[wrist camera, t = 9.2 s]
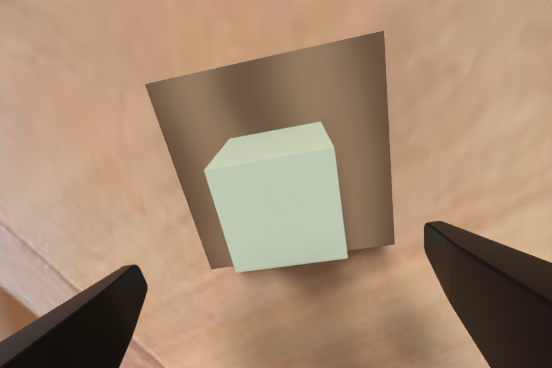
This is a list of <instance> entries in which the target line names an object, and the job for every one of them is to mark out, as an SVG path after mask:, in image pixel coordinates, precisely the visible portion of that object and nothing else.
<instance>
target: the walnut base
mask: <svg viewBox="0 0 552 368" xmlns="http://www.w3.org/2000/svg"><path fill="white" fill-rule="evenodd" d="M145 85H146V88H147V91H148V94H149V97H150V99H151V102H152V105H153V108H154V111H155V113H156V116H157V119H158V122H159V125H160V127H161V130H162V133H163V136H164V139H165V141H166V144H167V147H168V150H169V152H170V155H171V158H172V161H173V164H174V166H175V169H176V172H177V175H178V178H179V180H180V183H181V186H182V189H183V192H184V194H185V197H186V200H187V203H188V206H189V208H190V211H191V214H192V217H193V220H194V222H195V225H196V228H197V231H198V233H199V236H200V239H201V242H202V245H203V247H204V250H205V253H206V256H207V259H208V261H209V264H210V267H211V269H216V268H223V267H231V266H234V265H233V262H232V258H231V255H230V252H229V249H228V246H227V242H226V239H225V236H224V233H223V230H222V227H221V223H220V220H219V217H218V214H217V211H216V207H215V204H214V201H213V198H212V195H211V191H210V188H209V185H208V182H207V179H206V176H205V172H204V169H205V168H206V167H207V166H208V164H209V163H210V162H211V161H212V160H213V158H214V157H215V156H216V155H217V153H218V152H219V151H220V150H221V149H222V147H223V146H224V145H225V144H226V142H227V141H228V140H229V139H230V138H236V137H241V136H246V135H252V134H257V133H262V132H268V131H273V130H278V129H284V128H289V127H294V126H300V125H305V124H310V123H316V122H321V123H322V125H323V127H324V129H325V131H326V133H327V134H328V136H329V138H330V140H331V142H332V144H333V146H334V149H335V157H336V165H337V174H338V182H339V190H340V198H341V206H342V214H343V222H344V231H345V239H346V247H347V251H349V250H356V249H363V248H371V247H378V246H386V245H393V244H395V243H394V223H393V204H392V184H391V164H390V144H389V124H388V104H387V84H386V64H385V44H384V31H381V32H376V33H372V34H367V35H363V36H358V37H354V38H349V39H345V40H341V41H336V42H332V43H327V44H323V45H318V46H314V47H309V48H305V49H300V50H296V51H291V52H287V53H283V54H278V55H274V56H269V57H265V58H260V59H256V60H251V61H247V62H242V63H238V64H233V65H229V66H225V67H220V68H216V69H211V70H207V71H202V72H198V73H193V74H189V75H184V76H180V77H175V78H171V79H167V80H162V81H158V82H153V83H149V84H145Z"/></svg>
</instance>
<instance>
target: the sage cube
mask: <svg viewBox="0 0 552 368" xmlns="http://www.w3.org/2000/svg"><path fill="white" fill-rule="evenodd" d="M204 172H205V176H206V179H207V182H208V185H209V188H210V191H211V195H212V198H213V201H214V204H215V207H216V211H217V214H218V217H219V220H220V223H221V227H222V230H223V233H224V236H225V239H226V242H227V246H228V249H229V252H230V255H231V258H232V262H233V265H234V268H235V271H236V273H238V272H245V271H253V270H261V269H269V268H276V267H284V266H292V265H300V264H307V263H315V262H323V261H331V260H338V259H346V258H348V255H347V247H346V239H345V231H344V222H343V214H342V206H341V198H340V190H339V182H338V174H337V165H336V157H335V149H334V146H333V144H332V142H331V140H330V138H329V136H328V134H327V133H326V131H325V129H324V127H323V125H322V123H321V122H316V123H310V124H305V125H300V126H294V127H289V128H284V129H278V130H273V131H268V132H262V133H257V134H252V135H246V136H241V137H236V138H230V139H229V140H228V141H227V142H226V144H225V145H224V146H223V147H222V149H221V150H220V151H219V152H218V153H217V155H216V156H215V157H214V158H213V160H212V161H211V162H210V163H209V164H208V166H207V167H206V168H205V169H204Z"/></svg>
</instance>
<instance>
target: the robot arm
mask: <svg viewBox="0 0 552 368" xmlns="http://www.w3.org/2000/svg"><path fill="white" fill-rule="evenodd" d="M424 249H425V253H426V255H427V257H428V259H429V262H430V264H431V266H432V268H433V270H434V272H435V274H436V276H437V278H438V280H439V282H440V284H441V286H442V288H443V290H444V292H445V294H446V296H447V298H448V300H449V302H450V304H451V305H452V307H453V309H454V310H455V312H456V314H457V315H458V317H459V318H460V320H461V322H462V323H463V325H464V326H465V328H466V329H467V331H468V333H469V334H470V336H471V337H472V339H473V341H474V342H475V344H476V345H477V347H478V348H479V350H480V352H481V353H482V355H483V356H484V358H485V360H486V361H487V363H488V364H489V366H490V367H491V368H552V263H550V262H548V261H545V260H542V259H540V258H537V257H535V256H532V255H529V254H527V253H524V252H521V251H519V250H516V249H514V248H511V247H508V246H506V245H503V244H500V243H498V242H495V241H493V240H490V239H487V238H485V237H482V236H479V235H477V234H474V233H471V232H469V231H466V230H464V229H461V228H458V227H456V226H453V225H450V224H448V223H445V222H443V221H434V222H428V223H426V224H425V226H424ZM147 289H148V288H147V283H146V280H145V278H144V276H143V274H142V272H141V270H140V268H139V267H138V266H137V265H127V266H123V267H121V268H120V269H118V270H116V271H115V272H113V273H111V274H110V275H108V276H107V277H105V278H103V279H102V280H100V281H99V282H97V283H95V284H94V285H92V286H90V287H89V288H87V289H86V290H84V291H82V292H81V293H79V294H77V295H76V296H74V297H73V298H71V299H69V300H68V301H66V302H64V303H63V304H61V305H60V306H58V307H56V308H55V309H53V310H52V311H50V312H48V313H47V314H45V315H43V316H42V317H40V318H39V319H37V320H35V321H34V322H32V323H30V324H29V325H27V326H26V327H24V328H22V329H21V330H19V331H18V332H16V333H14V334H13V335H11V336H9V337H8V338H6V339H5V340H3V341H1V342H0V368H119V367H120V364H121V362H122V360H123V357H124V355H125V353H126V350H127V348H128V346H129V343H130V341H131V338H132V336H133V333H134V330H135V327H136V324H137V321H138V318H139V315H140V312H141V309H142V306H143V303H144V300H145V297H146V293H147Z"/></svg>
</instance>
